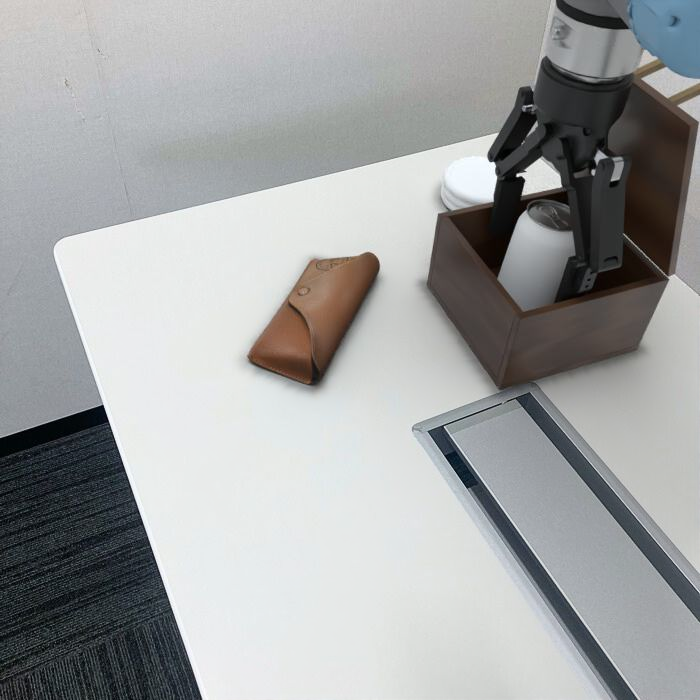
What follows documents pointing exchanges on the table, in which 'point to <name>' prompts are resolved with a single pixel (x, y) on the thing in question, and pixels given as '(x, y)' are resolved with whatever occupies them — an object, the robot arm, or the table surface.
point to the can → (538, 254)
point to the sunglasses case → (315, 317)
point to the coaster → (468, 182)
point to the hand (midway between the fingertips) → (530, 269)
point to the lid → (655, 166)
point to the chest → (541, 323)
